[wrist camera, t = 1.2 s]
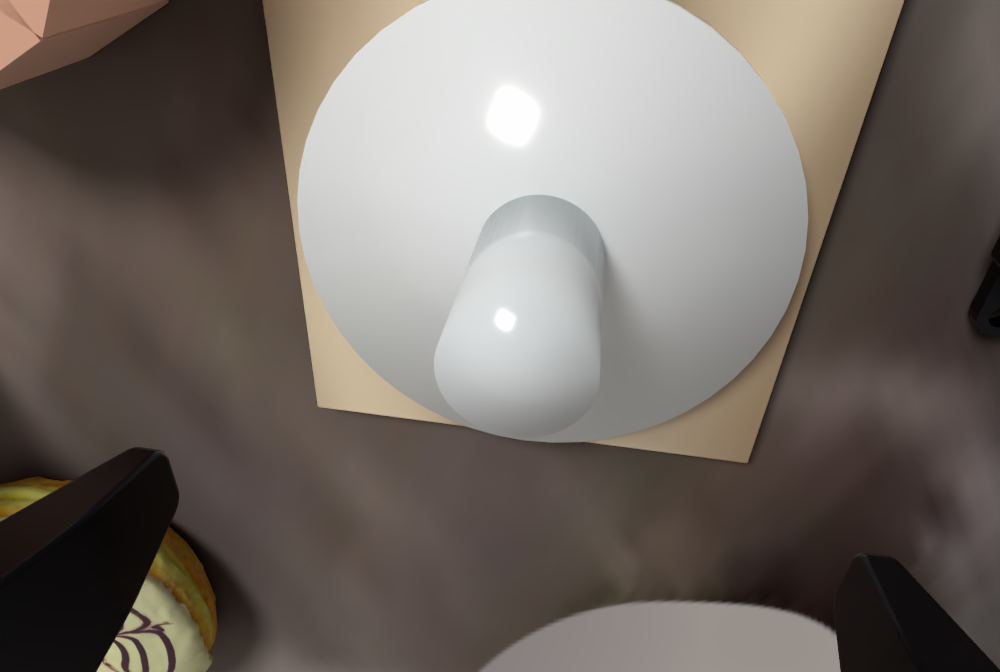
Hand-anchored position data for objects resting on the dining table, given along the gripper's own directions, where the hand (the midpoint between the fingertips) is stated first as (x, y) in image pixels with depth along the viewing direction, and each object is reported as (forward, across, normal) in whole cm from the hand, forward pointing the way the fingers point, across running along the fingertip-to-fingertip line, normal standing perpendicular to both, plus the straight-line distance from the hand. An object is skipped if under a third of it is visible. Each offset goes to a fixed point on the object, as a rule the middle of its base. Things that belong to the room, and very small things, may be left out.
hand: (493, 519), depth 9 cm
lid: (+8, 0, 0) cm, 8 cm away
